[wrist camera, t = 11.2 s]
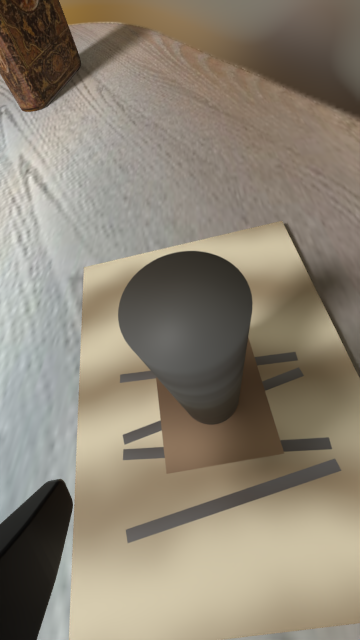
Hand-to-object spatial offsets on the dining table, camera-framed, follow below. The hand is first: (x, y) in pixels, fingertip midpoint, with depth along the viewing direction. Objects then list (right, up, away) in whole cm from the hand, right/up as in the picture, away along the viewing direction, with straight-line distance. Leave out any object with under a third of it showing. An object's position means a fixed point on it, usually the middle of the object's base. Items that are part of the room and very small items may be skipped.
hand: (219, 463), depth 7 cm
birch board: (+1, 0, +11) cm, 11 cm away
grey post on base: (+1, -1, +9) cm, 9 cm away
